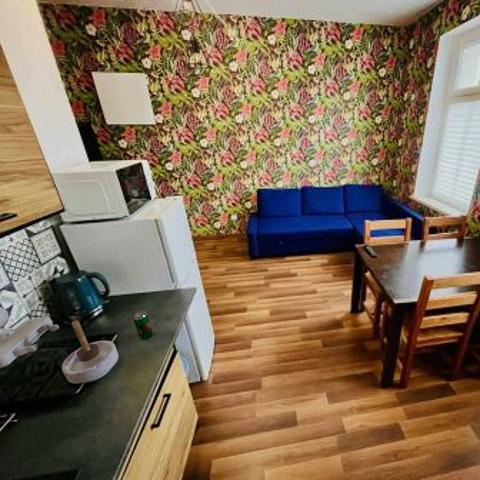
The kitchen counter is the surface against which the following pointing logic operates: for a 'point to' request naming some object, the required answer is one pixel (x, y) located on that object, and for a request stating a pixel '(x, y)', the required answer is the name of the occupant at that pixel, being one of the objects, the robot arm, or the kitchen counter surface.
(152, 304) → the kitchen counter surface
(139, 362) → the kitchen counter surface
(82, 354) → the toilet plunger
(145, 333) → the soda can
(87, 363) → the paper bowls
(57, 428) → the kitchen counter surface
